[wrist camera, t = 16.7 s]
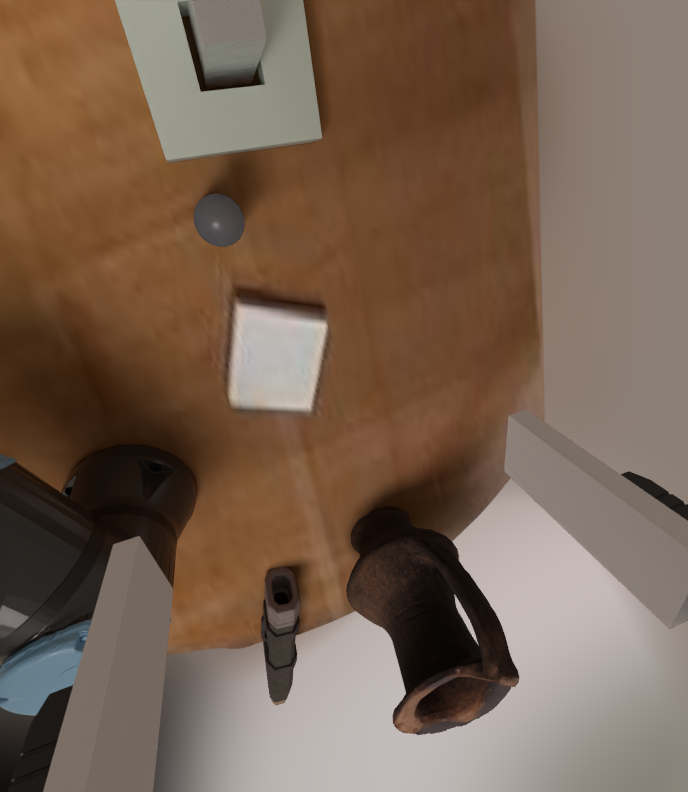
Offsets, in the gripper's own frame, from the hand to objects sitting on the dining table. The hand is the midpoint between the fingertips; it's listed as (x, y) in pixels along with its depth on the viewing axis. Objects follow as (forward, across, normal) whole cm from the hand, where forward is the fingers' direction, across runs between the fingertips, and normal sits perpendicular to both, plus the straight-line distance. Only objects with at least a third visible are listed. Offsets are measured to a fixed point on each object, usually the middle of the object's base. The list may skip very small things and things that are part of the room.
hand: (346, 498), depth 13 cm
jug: (+35, +11, -44) cm, 57 cm away
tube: (+35, -12, -60) cm, 70 cm away
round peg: (+34, -2, +8) cm, 35 cm away
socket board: (+34, +3, +20) cm, 40 cm away
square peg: (+34, +2, +20) cm, 40 cm away
